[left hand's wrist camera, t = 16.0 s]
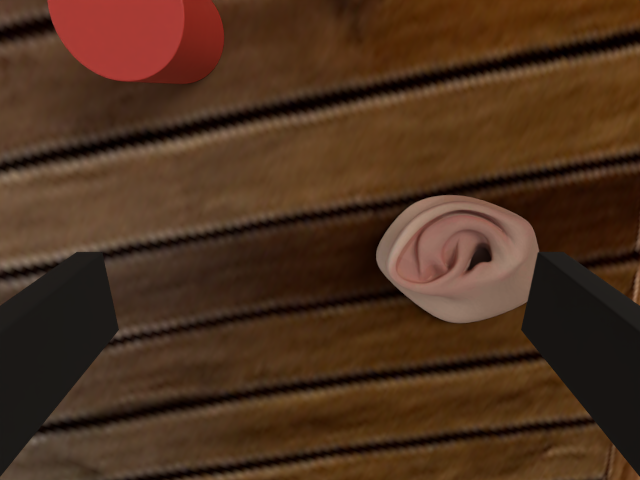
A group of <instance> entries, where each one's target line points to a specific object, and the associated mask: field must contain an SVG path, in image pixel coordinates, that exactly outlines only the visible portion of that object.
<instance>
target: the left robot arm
mask: <svg viewBox="0 0 640 480" xmlns="http://www.w3.org/2000/svg"><path fill="white" fill-rule="evenodd" d="M118 330H119V329H118V324H117V319H116V315H115V310H114V305H113V301H112V296H111V291H110V287H109V282H108V277H107V273H106V268H105V263H104V258H103V254H102V252H76V253H75V254H73V255H72V256H70V257H69V258H68V259H66V260H65V261H63V262H62V263H61V264H59V265H58V266H56V267H55V268H53V269H52V270H51V271H49V272H48V273H46V274H45V275H43V276H42V277H41V278H39V279H38V280H36V281H35V282H34V283H32V284H31V285H29V286H28V287H26V288H25V289H24V290H22V291H21V292H19V293H18V294H16V295H15V296H14V297H12V298H11V299H9V300H8V301H7V302H5V303H4V304H2V305H1V306H0V476H1V475H2V474H3V472H4V471H5V470H6V469H7V468H8V466H9V465H10V464H11V463H12V461H13V460H14V459H15V458H16V456H17V455H18V454H19V453H20V451H21V450H22V449H23V448H24V446H25V445H26V444H27V443H28V442H29V440H30V439H31V438H32V437H33V435H34V434H35V433H36V432H37V430H38V429H39V428H40V427H41V425H42V424H43V423H44V422H45V421H46V419H47V418H48V417H49V416H50V414H51V413H52V412H53V411H54V409H55V408H56V407H57V406H58V404H59V403H60V402H61V401H62V399H63V398H64V397H65V396H66V395H67V393H68V392H69V391H70V390H71V388H72V387H73V386H74V385H75V383H76V382H77V381H78V380H79V378H80V377H81V376H82V375H83V374H84V372H85V371H86V370H87V369H88V367H89V366H90V365H91V364H92V362H93V361H94V360H95V359H96V357H97V356H98V355H99V354H100V352H101V351H102V350H103V349H104V348H105V346H106V345H107V344H108V343H109V341H110V340H111V339H112V338H113V336H114V335H115V334H116V333H117V331H118ZM521 330H522V331H523V333H524V334H525V335H526V336H527V338H528V339H529V340H530V341H531V343H532V344H533V345H534V346H535V348H536V349H537V350H538V351H539V352H540V354H541V355H542V356H543V357H544V359H545V360H546V361H547V362H548V364H549V365H550V366H551V367H552V369H553V370H554V371H555V372H556V374H557V375H558V376H559V377H560V378H561V380H562V381H563V382H564V383H565V385H566V386H567V387H568V388H569V390H570V391H571V392H572V393H573V395H574V396H575V397H576V398H577V399H578V401H579V402H580V403H581V404H582V406H583V407H584V408H585V409H586V411H587V412H588V413H589V414H590V416H591V417H592V418H593V419H594V421H595V422H596V423H597V424H598V425H599V427H600V428H601V429H602V430H603V432H604V433H605V434H606V435H607V437H608V438H609V439H610V440H611V442H612V443H613V444H614V445H615V446H616V448H617V449H618V450H619V451H620V453H621V454H622V455H623V456H624V458H625V459H626V460H627V461H628V463H629V464H630V465H631V466H632V468H633V469H634V470H635V471H636V472H637V474H638V475H639V476H640V306H639V305H638V304H636V303H635V302H633V301H632V300H631V299H629V298H628V297H626V296H625V295H624V294H622V293H621V292H619V291H618V290H616V289H615V288H614V287H612V286H611V285H609V284H608V283H606V282H605V281H604V280H602V279H601V278H599V277H598V276H597V275H595V274H594V273H592V272H591V271H589V270H588V269H587V268H585V267H584V266H582V265H581V264H579V263H578V262H577V261H575V260H574V259H572V258H571V257H570V256H568V255H567V254H565V253H564V252H538V254H537V258H536V263H535V268H534V273H533V277H532V282H531V287H530V291H529V296H528V301H527V305H526V310H525V315H524V319H523V324H522V329H521Z"/></svg>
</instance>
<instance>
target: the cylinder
mask: <svg viewBox="0 0 640 480" xmlns="http://www.w3.org/2000/svg"><path fill="white" fill-rule="evenodd" d="M47 1H48V7H49V12H50V16H51V19H52V22H53V25H54V27H55V29H56V32H57V33H58V35H59V37H60V39H61V41H62V42H63V44H64V45H65V46H66V48H67V49H68V50H69V52H70V53H71V54H72V55H73V56H74V57H75V58H76V59H77V60H78V61H79V62H80V63H81V64H83V65H84V66H85V67H87V68H88V69H89V70H91V71H93V72H94V73H96V74H98V75H101V76H103V77H105V78H108V79H112V80H116V81H123V82H147V83H172V84H188V83H193V82H196V81H198V80H201V79H202V78H204V77H206V76H207V75H208V74H209V73H210V72H211V71H212V70H213V69H214V68H215V66H216V65H217V63H218V61H219V59H220V57H221V54H222V51H223V46H224V30H223V24H222V21H221V17H220V15H219V13H218V10H217V9H216V7H215V5H214V4H213V2H212V1H211V0H47Z"/></svg>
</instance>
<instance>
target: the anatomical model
mask: <svg viewBox="0 0 640 480" xmlns="http://www.w3.org/2000/svg"><path fill="white" fill-rule="evenodd" d="M538 252H539V249H538V244H537V240H536V236H535V233H534V230H533V228H532V226H531V225H530V224H529V223H528V222H527V221H526V220H525V219H524V218H522V217H520V216H519V215H517V214H515V213H513V212H511V211H508V210H506V209H504V208H501V207H499V206H497V205H494V204H491V203H489V202H486V201H483V200H479V199H476V198H471V197H466V196H457V195H443V196H435V197H430V198H426V199H423V200H421V201H418V202H416V203H414V204H412V205H411V206H409V207H408V208H407V209H406V210H404V211H403V212H402V213H401V214H400V215H399V216H398V217H397V218H396V220H395V221H394V222H393V223H392V224H391V226H390V227H389V228H388V230H387V231H386V233H385V234H384V236H383V238H382V239H381V241H380V243H379V246H378V248H377V253H376V260H377V263H378V266H379V268H380V269H381V271H382V272H383V273H384V275H385V276H386V277H387V278H388V279H389V280H390V281H391V282H392V283H393V284H394V285H395V286H396V287H397V288H398V289H399V290H400V291H401V292H402V293H404V294H405V295H406V296H407V297H408V298H409V299H411V300H412V301H413V302H414V303H416V304H417V305H418V306H420V307H421V308H422V309H424V310H425V311H427V312H429V313H430V314H432V315H433V316H435V317H437V318H439V319H442V320H444V321H448V322H453V323H468V322H474V321H480V320H483V319H487V318H491V317H494V316H496V315H499V314H502V313H505V312H507V311H510V310H512V309H514V308H516V307H518V306H520V305H522V304H524V303H526V302H527V301H528V296H529V291H530V287H531V282H532V277H533V273H534V268H535V263H536V258H537V254H538Z"/></svg>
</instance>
